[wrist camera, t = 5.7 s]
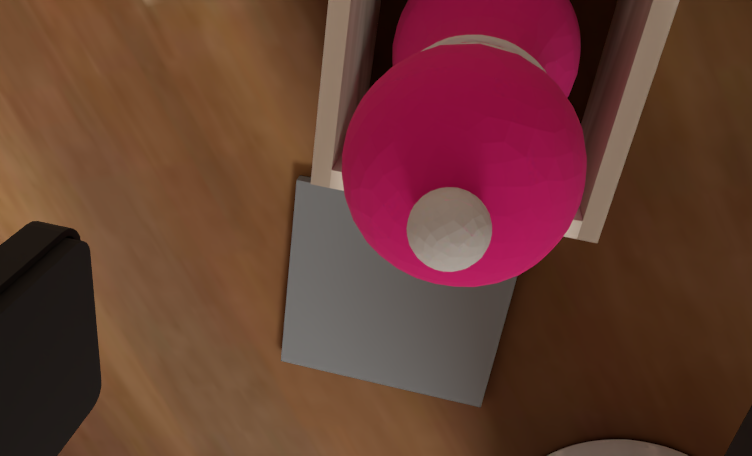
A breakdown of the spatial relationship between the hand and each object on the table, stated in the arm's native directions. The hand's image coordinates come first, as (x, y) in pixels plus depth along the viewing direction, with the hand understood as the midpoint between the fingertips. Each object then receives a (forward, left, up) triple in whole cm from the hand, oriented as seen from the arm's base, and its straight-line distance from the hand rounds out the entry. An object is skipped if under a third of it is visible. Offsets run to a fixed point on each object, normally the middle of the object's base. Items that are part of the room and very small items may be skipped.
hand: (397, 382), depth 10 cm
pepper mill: (0, 0, -25) cm, 25 cm away
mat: (+2, +15, -25) cm, 29 cm away
